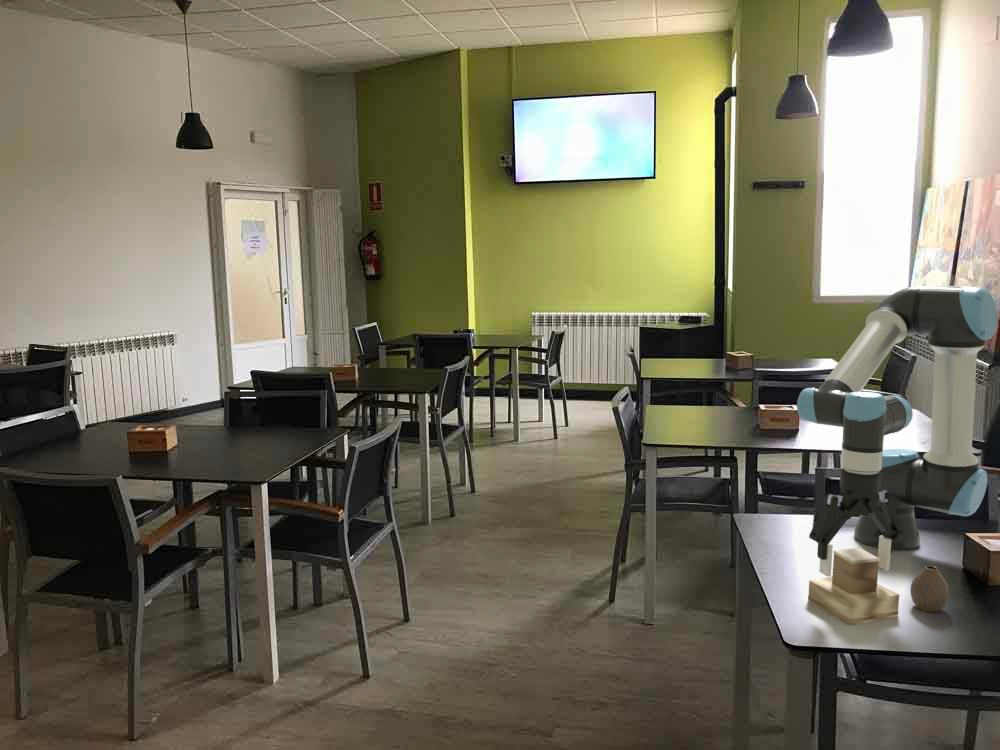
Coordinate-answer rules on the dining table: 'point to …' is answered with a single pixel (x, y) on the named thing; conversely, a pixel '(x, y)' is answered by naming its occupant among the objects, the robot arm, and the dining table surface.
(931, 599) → the vase
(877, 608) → the beech base
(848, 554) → the pale wooden block
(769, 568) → the dining table surface
